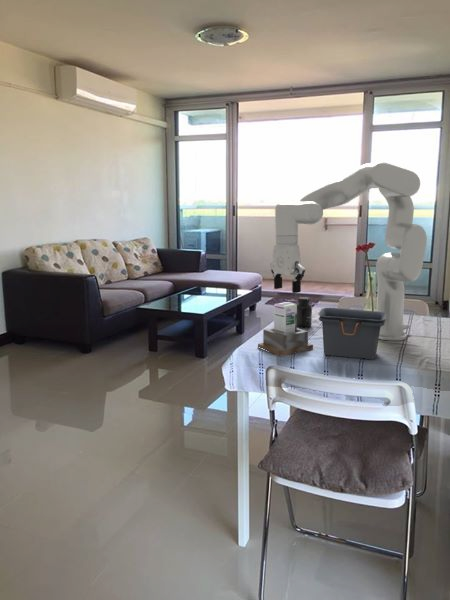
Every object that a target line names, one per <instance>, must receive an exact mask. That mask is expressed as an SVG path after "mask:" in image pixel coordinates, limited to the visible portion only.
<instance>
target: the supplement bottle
mask: <svg viewBox="0 0 450 600" xmlns="http://www.w3.org/2000/svg"><path fill="white" fill-rule="evenodd" d="M310 300H311V298H310V297H309V296H308V297H307V296H299V297H298V298H297V303H296V304H297V328H299V329H310V328H311V327H312V317H313V306H312V305H311V304H310V303H311V301H310Z"/></svg>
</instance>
